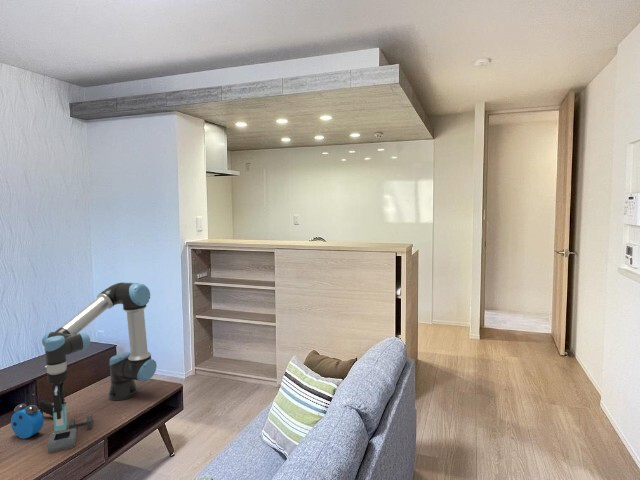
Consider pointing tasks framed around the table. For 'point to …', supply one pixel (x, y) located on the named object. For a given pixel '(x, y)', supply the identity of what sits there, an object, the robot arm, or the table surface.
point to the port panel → (62, 440)
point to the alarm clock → (26, 421)
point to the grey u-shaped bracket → (88, 422)
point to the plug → (64, 426)
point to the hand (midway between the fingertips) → (60, 422)
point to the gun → (46, 407)
